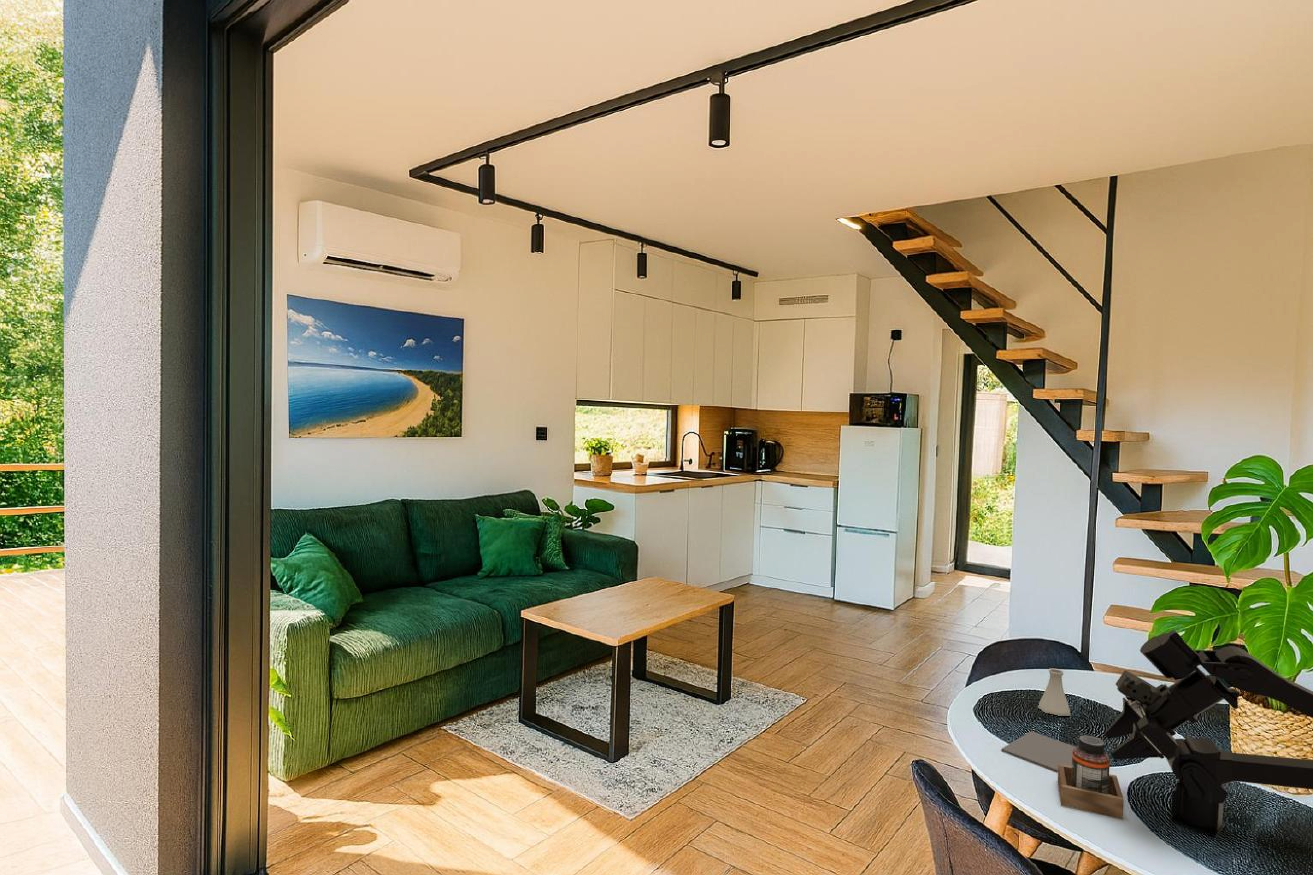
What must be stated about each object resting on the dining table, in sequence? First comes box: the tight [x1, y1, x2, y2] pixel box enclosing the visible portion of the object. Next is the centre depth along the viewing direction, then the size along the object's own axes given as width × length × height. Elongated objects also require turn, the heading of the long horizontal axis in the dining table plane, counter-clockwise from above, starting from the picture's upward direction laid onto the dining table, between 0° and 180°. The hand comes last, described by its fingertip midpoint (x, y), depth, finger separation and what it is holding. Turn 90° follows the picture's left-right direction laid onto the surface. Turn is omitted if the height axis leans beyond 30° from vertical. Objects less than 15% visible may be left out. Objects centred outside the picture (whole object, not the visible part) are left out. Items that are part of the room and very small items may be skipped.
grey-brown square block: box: [1000, 731, 1076, 774], centre depth 153 cm, size 14×14×1 cm
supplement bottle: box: [1071, 734, 1111, 795], centre depth 135 cm, size 6×6×11 cm
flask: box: [1037, 668, 1071, 717], centre depth 175 cm, size 7×7×10 cm
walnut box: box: [1057, 764, 1125, 820], centre depth 135 cm, size 10×10×4 cm
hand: (1109, 746), depth 134 cm, fingers open, 9 cm apart
